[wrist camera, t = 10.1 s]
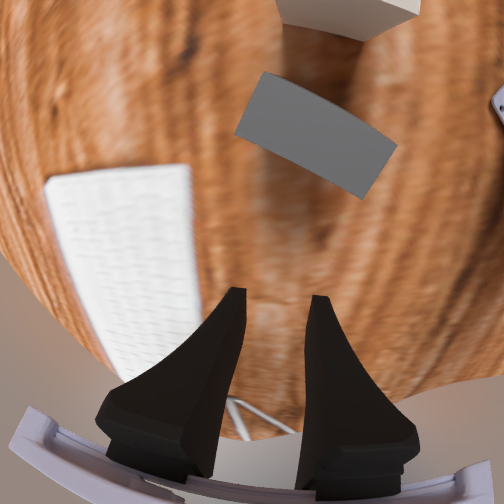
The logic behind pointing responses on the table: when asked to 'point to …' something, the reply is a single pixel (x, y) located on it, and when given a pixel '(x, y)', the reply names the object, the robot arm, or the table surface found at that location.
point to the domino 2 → (315, 134)
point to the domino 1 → (348, 15)
